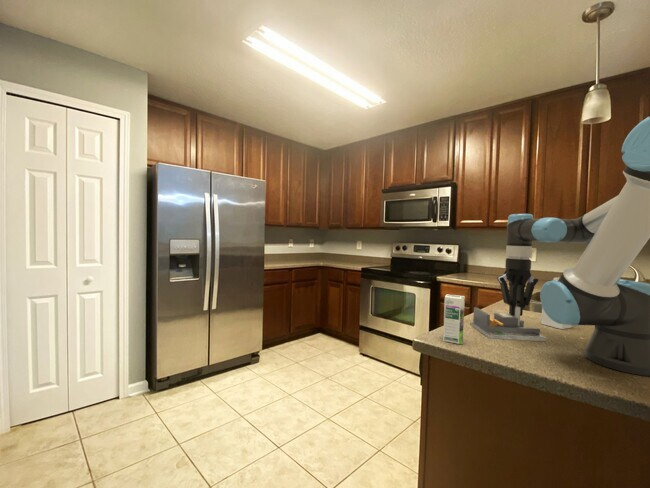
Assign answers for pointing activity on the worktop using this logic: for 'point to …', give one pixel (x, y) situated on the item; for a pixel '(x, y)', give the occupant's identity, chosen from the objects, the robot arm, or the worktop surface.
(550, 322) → the milk carton
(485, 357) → the worktop surface
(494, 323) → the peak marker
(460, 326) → the syrup box
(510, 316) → the grey block
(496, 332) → the gauge bed
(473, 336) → the worktop surface
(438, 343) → the worktop surface
